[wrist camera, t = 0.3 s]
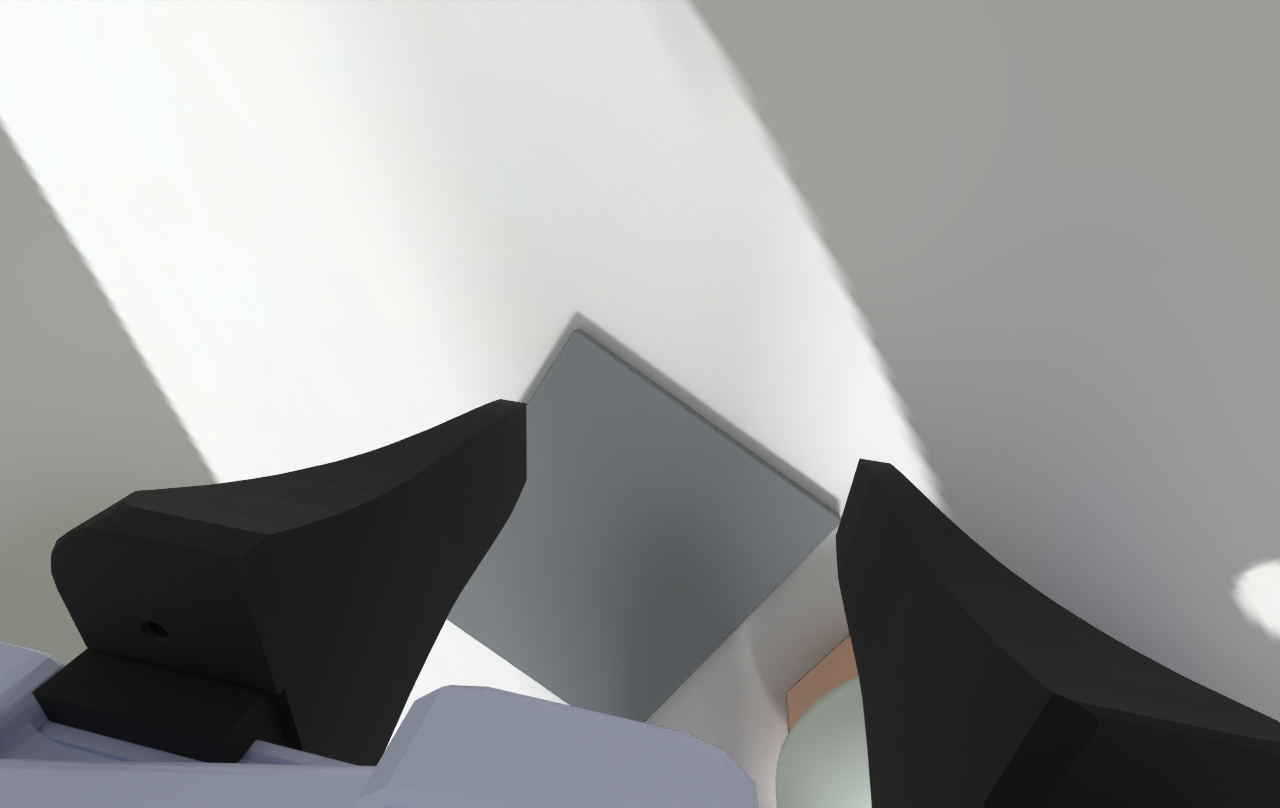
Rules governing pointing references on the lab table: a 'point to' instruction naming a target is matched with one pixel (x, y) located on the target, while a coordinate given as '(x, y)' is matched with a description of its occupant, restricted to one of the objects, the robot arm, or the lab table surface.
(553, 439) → the mat
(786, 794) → the lid
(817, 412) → the lab table surface
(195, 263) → the lab table surface
